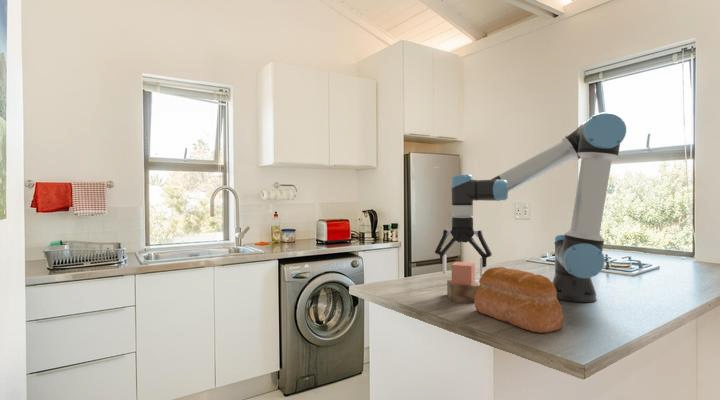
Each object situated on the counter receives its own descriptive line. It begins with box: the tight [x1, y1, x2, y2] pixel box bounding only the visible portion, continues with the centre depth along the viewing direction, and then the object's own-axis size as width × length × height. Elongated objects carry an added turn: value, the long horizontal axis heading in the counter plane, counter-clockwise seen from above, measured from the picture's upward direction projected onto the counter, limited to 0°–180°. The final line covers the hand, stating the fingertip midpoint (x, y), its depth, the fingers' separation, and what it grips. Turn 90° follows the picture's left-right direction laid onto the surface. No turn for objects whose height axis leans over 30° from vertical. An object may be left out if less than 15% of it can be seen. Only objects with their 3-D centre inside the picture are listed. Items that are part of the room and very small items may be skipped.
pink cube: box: [451, 261, 476, 286], centre depth 144 cm, size 7×7×7 cm
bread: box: [473, 266, 564, 334], centre depth 120 cm, size 14×26×15 cm, turn 27°
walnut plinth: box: [446, 279, 480, 303], centre depth 144 cm, size 10×10×6 cm
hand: (462, 274), depth 144 cm, fingers open, 13 cm apart
